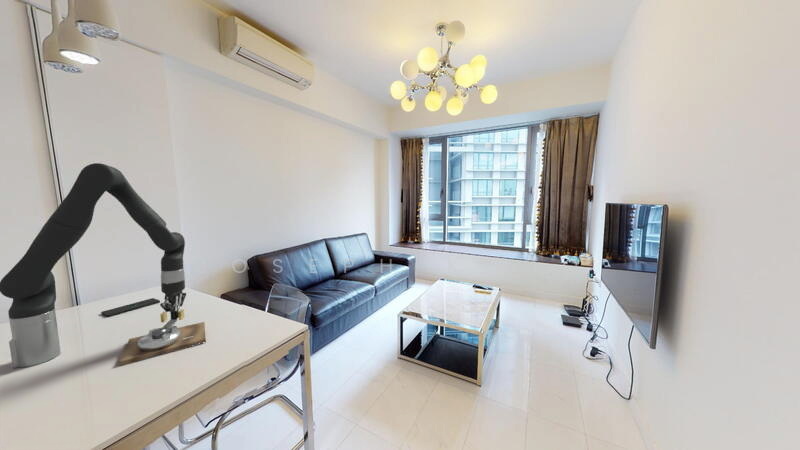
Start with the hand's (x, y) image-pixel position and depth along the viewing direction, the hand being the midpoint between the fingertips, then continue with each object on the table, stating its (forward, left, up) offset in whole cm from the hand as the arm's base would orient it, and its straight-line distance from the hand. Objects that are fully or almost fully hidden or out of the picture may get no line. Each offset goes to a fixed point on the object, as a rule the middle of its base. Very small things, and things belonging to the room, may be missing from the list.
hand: (174, 318), depth 110 cm
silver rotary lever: (-3, -6, -4) cm, 8 cm away
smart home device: (-19, +45, -7) cm, 49 cm away
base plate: (-2, -8, -6) cm, 10 cm away
